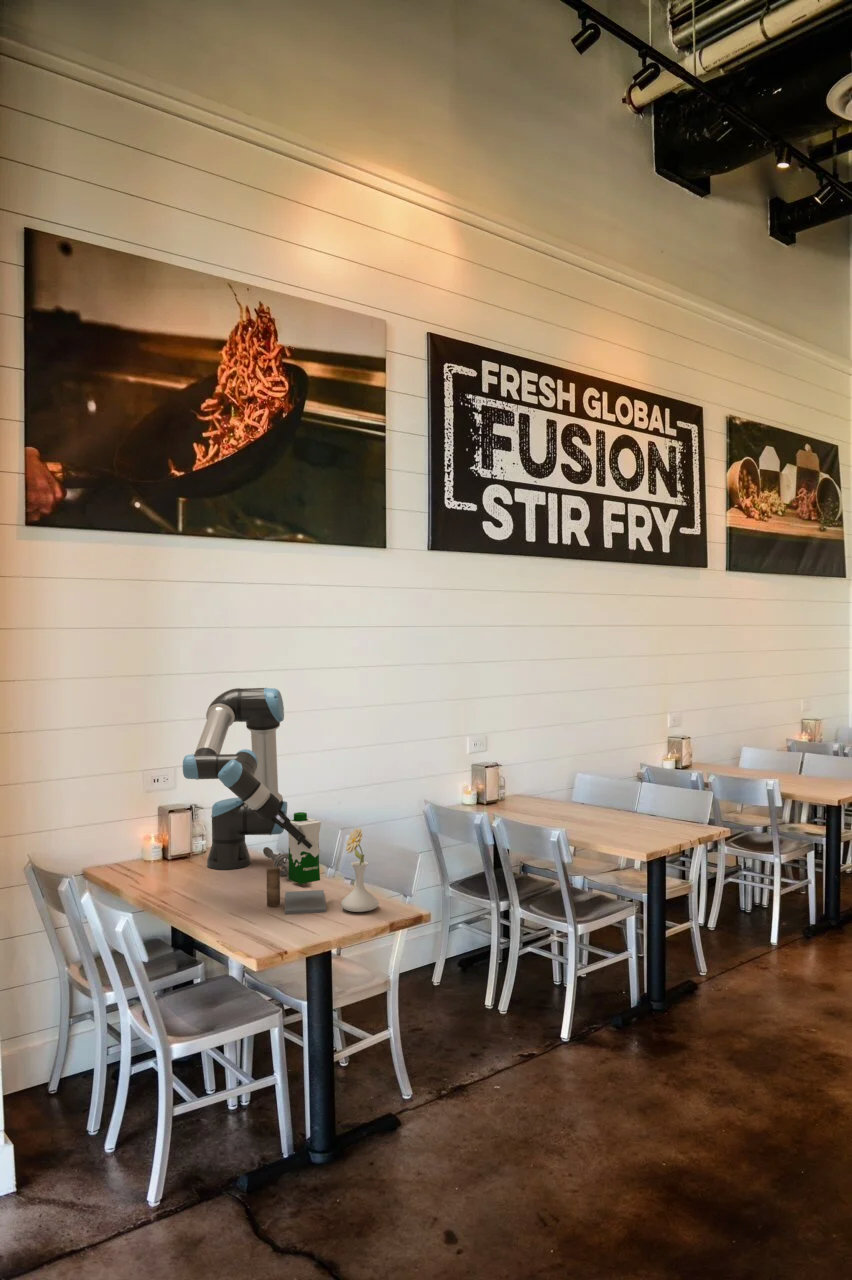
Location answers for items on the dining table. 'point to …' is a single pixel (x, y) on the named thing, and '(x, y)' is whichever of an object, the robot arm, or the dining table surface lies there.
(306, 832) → the soya milk
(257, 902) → the dining table surface
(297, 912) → the slate mat
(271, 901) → the wooden pepper mill
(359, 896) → the flower in vase
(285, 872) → the spaceship
